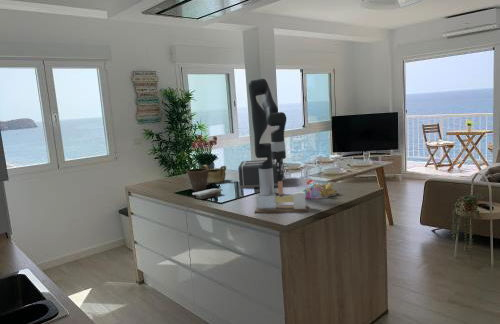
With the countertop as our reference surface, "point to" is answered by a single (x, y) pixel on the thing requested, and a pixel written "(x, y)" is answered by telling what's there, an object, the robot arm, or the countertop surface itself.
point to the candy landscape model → (318, 190)
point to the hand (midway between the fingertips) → (280, 179)
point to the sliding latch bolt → (281, 197)
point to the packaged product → (207, 193)
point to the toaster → (255, 173)
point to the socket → (299, 200)
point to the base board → (282, 209)
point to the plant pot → (198, 178)
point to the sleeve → (266, 202)
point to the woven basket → (215, 174)
